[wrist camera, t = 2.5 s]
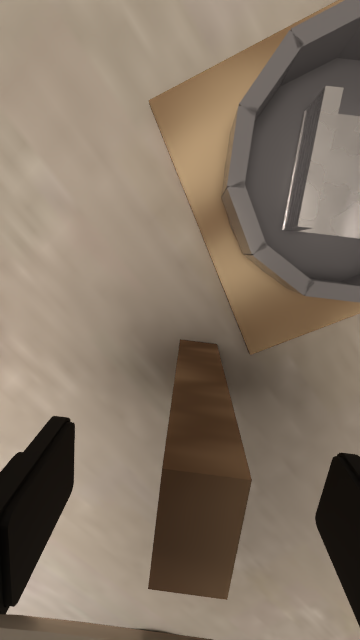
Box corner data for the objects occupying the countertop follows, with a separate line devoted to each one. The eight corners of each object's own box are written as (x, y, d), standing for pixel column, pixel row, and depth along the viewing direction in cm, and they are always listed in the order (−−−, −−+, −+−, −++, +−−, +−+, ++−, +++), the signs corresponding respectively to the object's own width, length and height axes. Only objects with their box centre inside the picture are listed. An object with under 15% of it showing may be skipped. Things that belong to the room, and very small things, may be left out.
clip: (402, 122, 15) (442, 98, 13) (371, 240, 17) (402, 238, 14) (303, 111, 15) (324, 85, 13) (281, 229, 17) (296, 226, 14)
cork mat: (499, 255, 18) (510, 255, 17) (248, 351, 20) (250, 354, 19) (441, -48, 14) (451, -60, 14) (150, 105, 17) (148, 100, 16)
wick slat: (216, 344, 20) (251, 480, 8) (207, 403, 21) (227, 599, 9) (180, 339, 20) (162, 468, 8) (173, 399, 21) (148, 588, 9)
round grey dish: (487, 61, 15) (574, 6, 12) (413, 302, 18) (464, 315, 15) (242, 35, 15) (257, -26, 12) (209, 278, 18) (212, 285, 15)
